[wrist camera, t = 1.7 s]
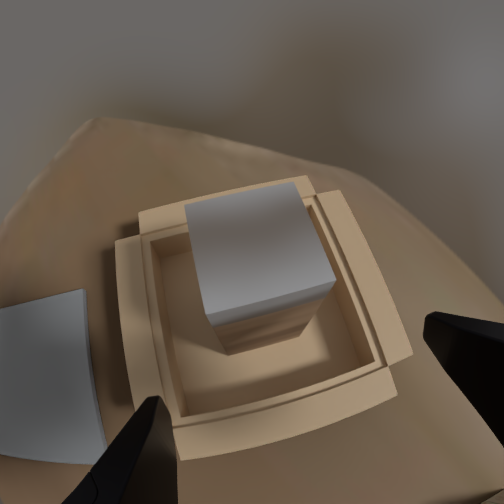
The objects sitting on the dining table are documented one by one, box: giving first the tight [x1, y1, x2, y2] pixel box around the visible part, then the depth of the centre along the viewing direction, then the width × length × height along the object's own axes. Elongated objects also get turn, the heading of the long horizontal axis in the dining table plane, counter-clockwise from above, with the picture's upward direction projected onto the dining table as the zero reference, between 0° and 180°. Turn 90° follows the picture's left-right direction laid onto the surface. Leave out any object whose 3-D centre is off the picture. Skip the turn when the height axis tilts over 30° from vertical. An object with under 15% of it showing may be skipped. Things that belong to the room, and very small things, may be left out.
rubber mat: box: [0, 289, 108, 464], centre depth 18 cm, size 14×14×1 cm
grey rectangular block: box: [184, 182, 336, 356], centre depth 16 cm, size 5×5×10 cm
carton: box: [115, 175, 413, 460], centre depth 20 cm, size 17×17×4 cm
